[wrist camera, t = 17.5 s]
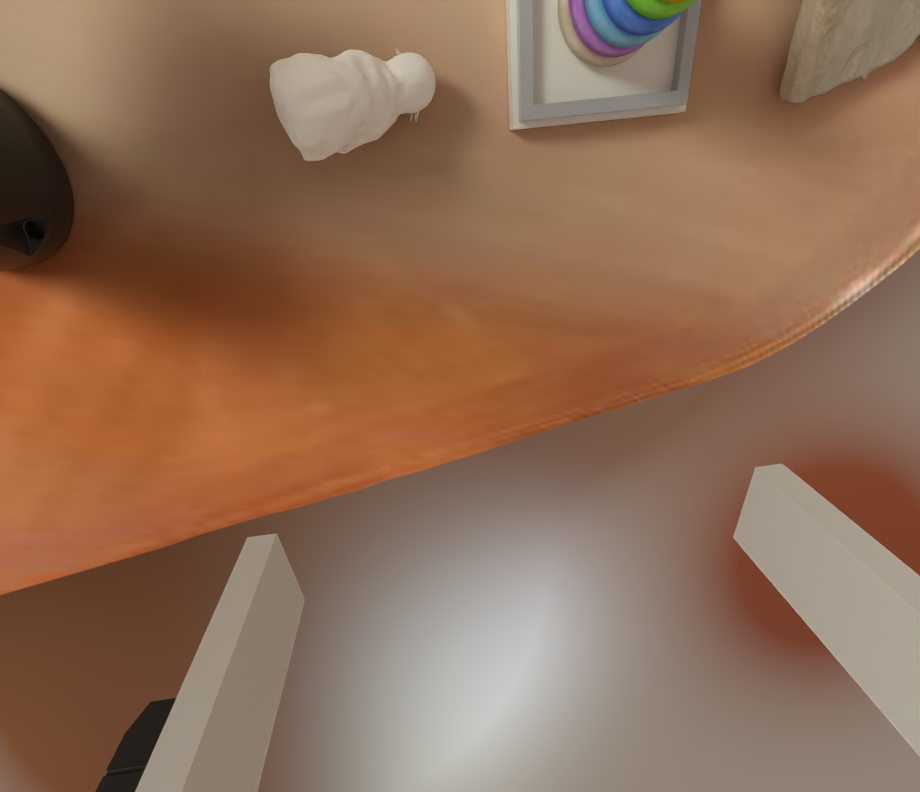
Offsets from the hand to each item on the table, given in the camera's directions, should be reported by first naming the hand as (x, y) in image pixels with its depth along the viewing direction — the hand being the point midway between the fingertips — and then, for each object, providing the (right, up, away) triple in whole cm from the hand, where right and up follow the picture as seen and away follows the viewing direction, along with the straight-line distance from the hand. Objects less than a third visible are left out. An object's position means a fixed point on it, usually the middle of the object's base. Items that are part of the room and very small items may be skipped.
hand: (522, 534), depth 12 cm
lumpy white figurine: (-10, +28, +23) cm, 38 cm away
